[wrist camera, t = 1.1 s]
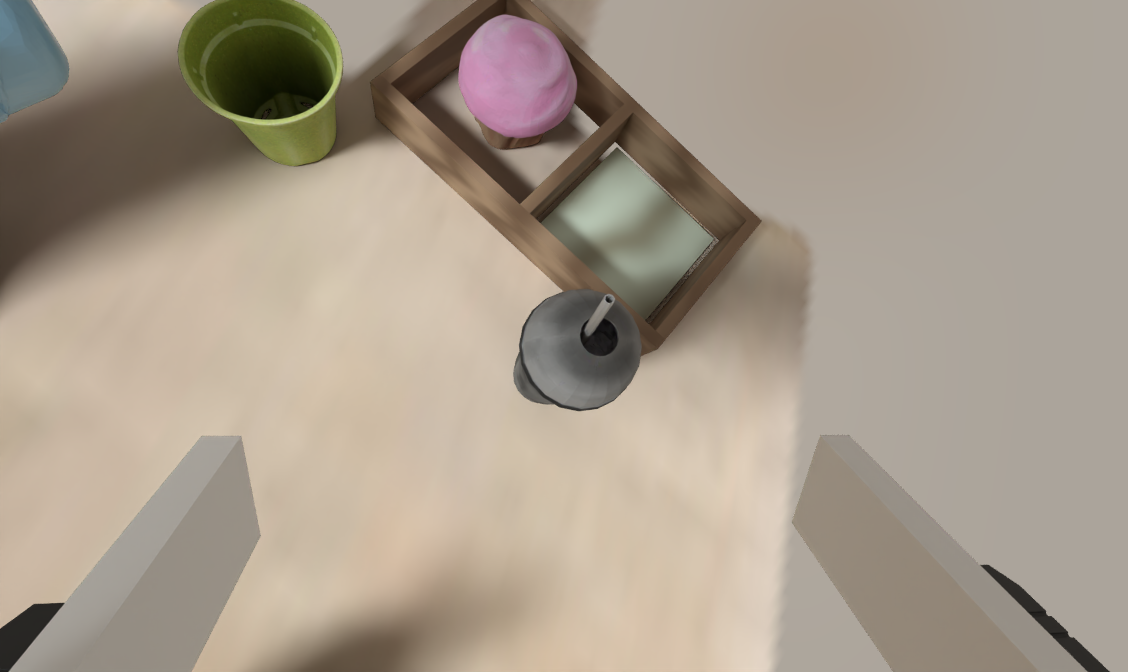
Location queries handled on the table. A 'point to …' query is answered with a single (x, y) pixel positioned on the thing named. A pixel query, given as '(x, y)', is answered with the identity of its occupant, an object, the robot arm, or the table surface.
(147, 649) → the robot arm
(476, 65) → the cupcake
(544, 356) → the beverage cup
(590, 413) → the table surface
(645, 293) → the tray
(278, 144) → the plant pot
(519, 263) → the table surface
